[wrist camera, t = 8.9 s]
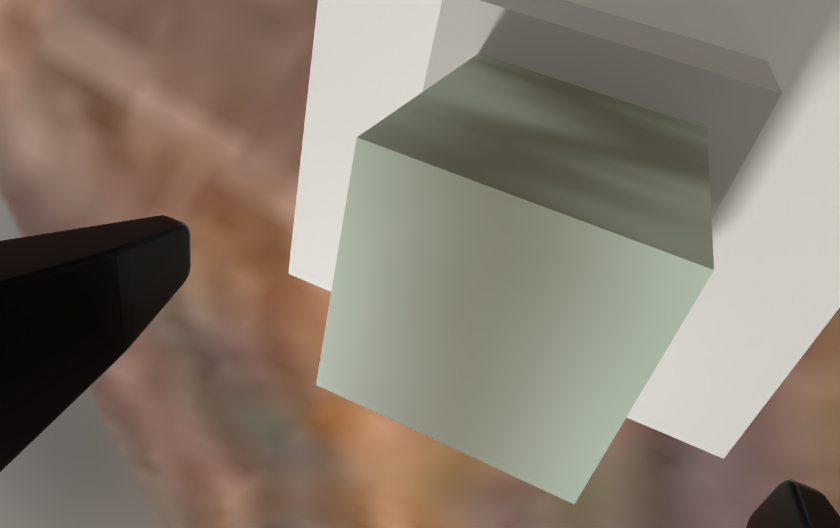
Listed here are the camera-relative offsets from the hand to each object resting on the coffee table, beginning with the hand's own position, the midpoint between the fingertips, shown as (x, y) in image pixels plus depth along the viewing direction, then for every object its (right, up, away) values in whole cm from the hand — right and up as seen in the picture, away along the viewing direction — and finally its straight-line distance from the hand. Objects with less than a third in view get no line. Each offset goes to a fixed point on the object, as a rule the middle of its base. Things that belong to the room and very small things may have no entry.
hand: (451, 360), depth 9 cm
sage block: (+3, +3, +6) cm, 7 cm away
